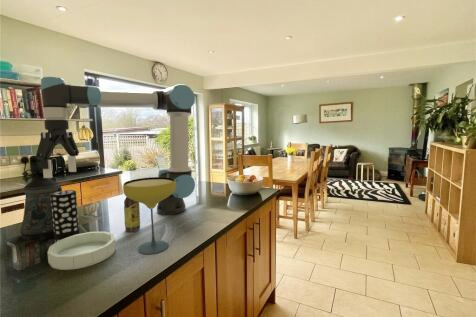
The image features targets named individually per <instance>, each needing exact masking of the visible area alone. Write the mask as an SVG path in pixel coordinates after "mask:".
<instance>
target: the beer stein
mask: <svg viewBox="0 0 476 317" xmlns="http://www.w3.org/2000/svg"><path fill="white" fill-rule="evenodd" d="M22 191H23V193H24V194H25V200H24V201H25V202H24V211H23V219H22V222H21V226H20V228H19V229H20V230H19V233H20V234H21V235H20V236H21V238H22V239H23V240H24V241H41V240H42V241H43V240H47V239H50V238H55V236H54V226H53V216H52V206H51V196H50V194H51V193H54V192H58V191H63V188H62V186H61V185H60V182H57V179H56V178H55V177H53V178H44V176H43V174H40V175H36V176H34V178H33V179H32V180H31V181H29V182H28V183H27V184H25V186H24V187H23V188H22ZM46 238H47V239H46Z"/></svg>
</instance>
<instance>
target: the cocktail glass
mask: <svg viewBox="0 0 476 317" xmlns="http://www.w3.org/2000/svg"><path fill="white" fill-rule="evenodd" d="M175 189H176V182H175V180H174V179H173V178H167V177H158V176H155V177H154V176H152V177H141V178H137V179H132V180H128V181H125V182H124V183H123V185H122V190H123V194H124V196H125V197H128V198H129V199H131V200H134V201H137V202H139V204H143V205H145V206H146V208H148V210H150V217H151V218H150V219H151V220H150V221H151V241H148V242H144V243H142V244H141V245H140V246H139V247H138V248H137V250H138V252H139V253H140V254H142V255H155V254H159V253H162V252H164V251H166V250H168V248H169V246H170V245H169V243H168V242H167V241H166V240H165V241H164V240H156V238H155V229H154V228H155V227H154V212H153V209H155V208H156V207H157V205H158V203H159V202H160V201H162V200H163V199H165V198H167V197H169V196H170V195H171V194H172V193H173V192H174V191H175Z"/></svg>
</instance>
